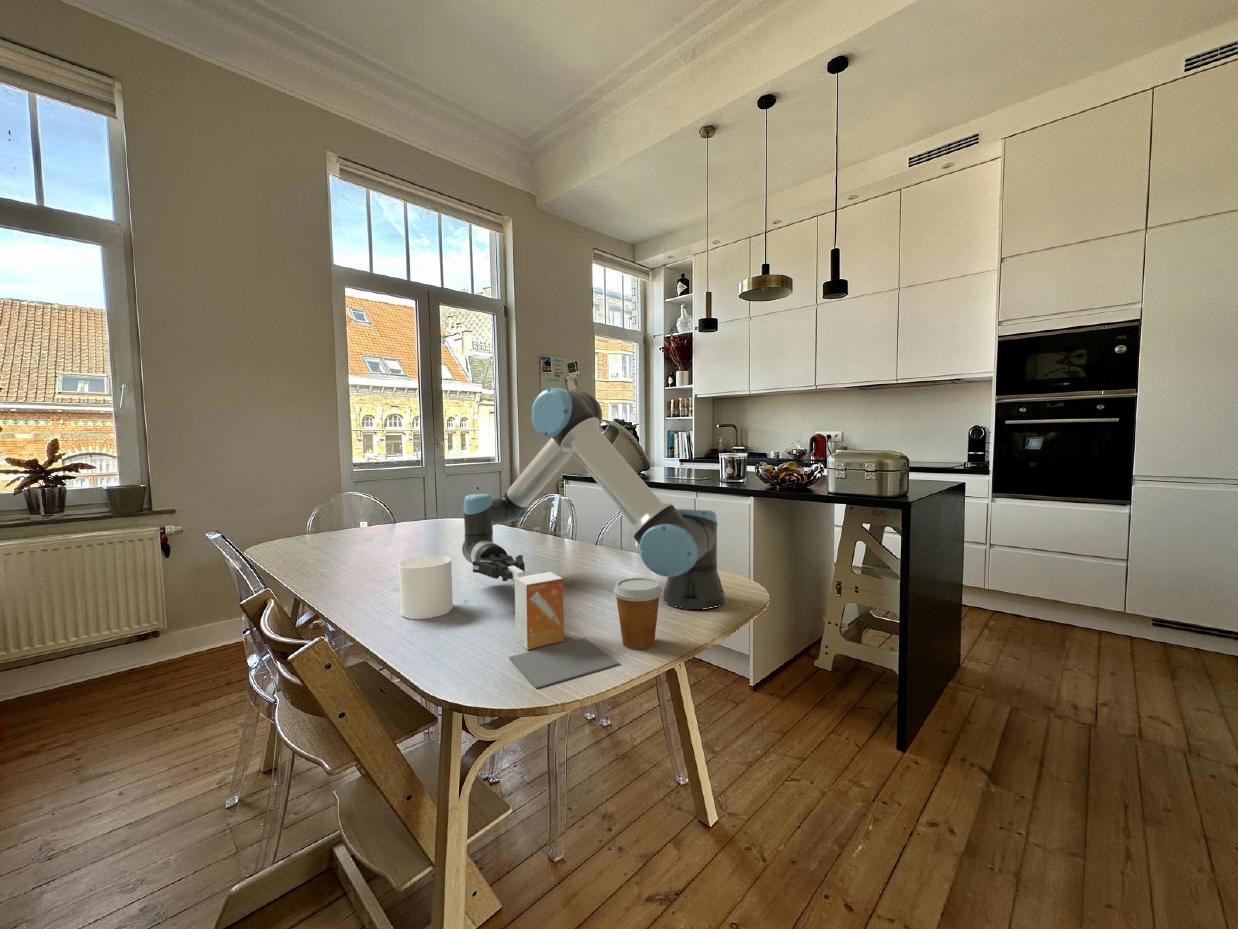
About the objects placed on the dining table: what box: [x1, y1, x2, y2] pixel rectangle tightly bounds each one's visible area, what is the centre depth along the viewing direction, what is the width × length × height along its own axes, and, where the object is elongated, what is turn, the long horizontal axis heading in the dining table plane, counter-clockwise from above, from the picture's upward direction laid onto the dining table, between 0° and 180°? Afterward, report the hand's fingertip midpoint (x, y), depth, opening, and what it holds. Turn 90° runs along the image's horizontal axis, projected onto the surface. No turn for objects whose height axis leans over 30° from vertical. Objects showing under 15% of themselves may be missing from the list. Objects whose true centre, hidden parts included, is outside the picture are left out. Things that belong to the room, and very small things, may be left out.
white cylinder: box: [398, 555, 454, 620], centre depth 118 cm, size 12×12×12 cm
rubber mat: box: [508, 637, 621, 690], centre depth 89 cm, size 16×14×1 cm
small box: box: [514, 571, 565, 651], centre depth 99 cm, size 8×6×13 cm
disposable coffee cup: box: [613, 577, 663, 650], centre depth 97 cm, size 10×10×12 cm
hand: (521, 578), depth 107 cm, fingers closed
